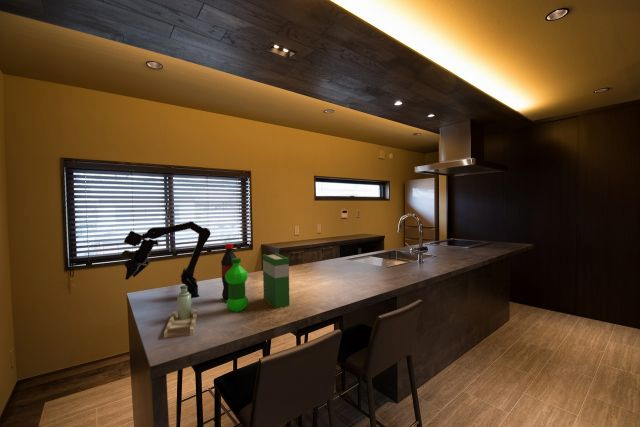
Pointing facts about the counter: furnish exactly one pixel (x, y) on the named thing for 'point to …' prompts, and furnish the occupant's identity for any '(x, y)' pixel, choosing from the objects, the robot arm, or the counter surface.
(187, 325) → the rest
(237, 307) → the plastic bottle
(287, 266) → the green cereal box
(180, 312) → the glass bottle
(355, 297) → the counter surface
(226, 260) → the cola bottle
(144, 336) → the counter surface
